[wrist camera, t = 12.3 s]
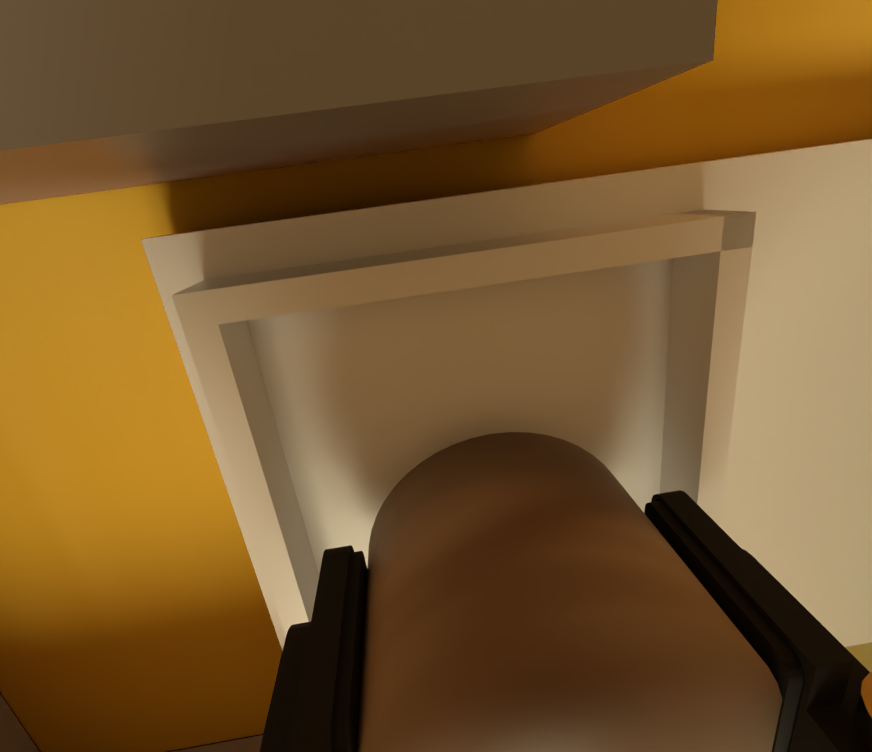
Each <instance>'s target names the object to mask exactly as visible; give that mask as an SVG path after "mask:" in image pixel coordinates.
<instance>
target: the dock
mask: <svg viewBox="0 0 872 752" xmlns="http://www.w3.org/2000/svg"><path fill="white" fill-rule="evenodd" d="M716 12H717V0H0V204H7V203H15V202H22V201H30V200H37V199H45V198H53V197H60V196H68V195H75V194H83V193H90V192H98V191H105V190H113V189H121V188H128V187H136V186H143V185H151V184H158V183H166V182H174V181H181V180H189V179H196V178H204V177H211V176H219V175H227V174H234V173H242V172H249V171H257V170H264V169H272V168H279V167H287V166H295V165H302V164H310V163H317V162H325V161H332V160H340V159H348V158H355V157H363V156H370V155H378V154H385V153H393V152H401V151H408V150H416V149H423V148H431V147H438V146H446V145H454V144H461V143H469V142H476V141H484V140H491V139H499V138H506V137H514V136H522V135H529V134H535V133H537V132H539V131H542V130H544V129H547V128H549V127H552V126H554V125H556V124H559V123H561V122H564V121H566V120H569V119H571V118H573V117H576V116H578V115H581V114H583V113H586V112H588V111H590V110H593V109H595V108H598V107H600V106H603V105H605V104H607V103H610V102H612V101H615V100H617V99H620V98H622V97H624V96H627V95H629V94H632V93H634V92H637V91H639V90H641V89H644V88H646V87H649V86H651V85H654V84H656V83H658V82H661V81H663V80H666V79H668V78H670V77H673V76H675V75H678V74H680V73H683V72H685V71H687V70H690V69H692V68H695V67H697V66H700V65H702V64H704V63H707V62H709V61H712V60H713V52H714V39H715V26H716ZM262 738H263V735H260V736H254V737H249V738H243V739H238V740H232V741H227V742H222V743H216V744H211V745H205V746H200V747H194V748H189V749H184V750H178V751H173V752H260V747H261V743H262ZM0 752H39V750H38V749H37V747H36V746H35V745H34V743H33V742H32V740H31V739H30V737H29V736H28V734H27V733H26V731H25V730H24V728H23V727H22V725H21V724H20V723H19V721H18V720H17V718H16V717H15V715H14V714H13V712H12V711H11V709H10V708H9V706H8V705H7V704H6V702H5V701H4V699H3V698H2V696H1V695H0Z"/></svg>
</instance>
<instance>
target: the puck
mask: <svg viewBox="0 0 872 752" xmlns="http://www.w3.org/2000/svg"><path fill="white" fill-rule="evenodd" d="M781 704H782V696H781V693H780V690H779V686H778V683H777V682H776V680H775V678H774V676H773V674H772V673H771V671H770V669H769V667H768V666H767V665H766V664H765V662H764V661H763V660H762V659H761V657H760V656H759V655H758V654H757V652H756V651H755V650H754V649H753V647H752V646H751V645H750V644H749V643H748V641H747V640H746V639H745V638H744V636H743V635H742V634H741V633H740V631H739V630H738V629H737V628H736V626H735V625H734V624H733V623H732V621H731V620H730V619H729V618H728V616H727V615H726V614H725V613H724V612H723V610H722V609H721V608H720V607H719V605H718V604H717V603H716V602H715V600H714V599H713V598H712V597H711V595H710V594H709V593H708V592H707V590H706V589H705V588H704V587H703V585H702V584H701V583H700V582H699V581H698V579H697V578H696V577H695V576H694V574H693V573H692V572H691V571H690V569H689V568H688V567H687V566H686V564H685V563H684V562H683V561H682V559H681V558H680V557H679V556H678V554H677V553H676V552H675V551H674V550H673V548H672V547H671V546H670V545H669V543H668V542H667V541H666V540H665V538H664V537H663V536H662V535H661V533H660V532H659V531H658V530H657V528H656V527H655V526H654V525H653V523H652V522H651V521H650V520H649V518H648V517H647V516H646V515H645V514H644V512H643V511H642V510H641V509H640V507H639V506H638V505H637V504H636V502H635V501H634V500H633V499H632V497H631V496H630V495H629V494H628V492H627V491H626V490H625V489H624V487H623V486H622V485H621V484H620V483H619V481H618V480H617V479H616V478H615V476H614V475H613V474H612V473H611V472H610V471H609V469H608V468H607V467H606V466H605V465H604V464H603V463H602V462H601V461H600V460H598V459H597V458H596V457H595V456H594V455H592V454H591V453H589V452H587V451H586V450H584V449H583V448H581V447H579V446H577V445H575V444H572V443H570V442H568V441H565V440H563V439H559V438H556V437H552V436H549V435H544V434H537V433H530V432H504V433H494V434H488V435H483V436H479V437H474V438H470V439H468V440H465V441H462V442H459V443H456V444H453V445H451V446H449V447H447V448H445V449H443V450H441V451H439V452H436V453H435V454H433V455H432V456H430V457H429V458H427V459H425V460H424V461H422V462H421V463H419V464H418V465H417V466H416V467H415V468H413V469H412V470H411V471H410V472H408V473H407V474H406V475H405V476H404V477H403V478H402V479H401V480H400V481H399V482H398V484H397V485H396V486H395V487H394V488H393V489H392V491H391V492H390V493H389V495H388V496H387V498H386V499H385V500H384V502H383V504H382V506H381V508H380V510H379V512H378V514H377V516H376V518H375V521H374V524H373V527H372V530H371V535H370V541H369V550H368V567H367V588H366V606H365V624H364V642H363V660H362V678H361V696H360V714H359V732H358V750H357V752H772V747H773V743H774V738H775V733H776V728H777V723H778V718H779V713H780V709H781Z"/></svg>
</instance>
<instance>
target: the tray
mask: <svg viewBox="0 0 872 752" xmlns="http://www.w3.org/2000/svg"><path fill="white" fill-rule="evenodd" d="M141 241H142V244H143V247H144V250H145V253H146V256H147V259H148V261H149V264H150V267H151V270H152V273H153V276H154V279H155V282H156V285H157V288H158V291H159V293H160V296H161V299H162V302H163V305H164V308H165V311H166V314H167V317H168V320H169V323H170V325H171V328H172V331H173V334H174V337H175V340H176V343H177V346H178V349H179V352H180V355H181V357H182V360H183V363H184V366H185V369H186V372H187V375H188V378H189V381H190V384H191V387H192V389H193V392H194V395H195V398H196V401H197V404H198V407H199V410H200V413H201V416H202V419H203V421H204V424H205V427H206V430H207V433H208V436H209V439H210V442H211V445H212V448H213V451H214V453H215V456H216V459H217V462H218V465H219V468H220V471H221V474H222V477H223V480H224V483H225V485H226V488H227V491H228V494H229V497H230V500H231V503H232V506H233V509H234V512H235V515H236V517H237V520H238V523H239V526H240V529H241V532H242V535H243V538H244V541H245V544H246V547H247V549H248V552H249V555H250V558H251V561H252V564H253V567H254V570H255V573H256V576H257V579H258V581H259V584H260V587H261V590H262V593H263V596H264V599H265V602H266V605H267V608H268V611H269V613H270V616H271V619H272V622H273V625H274V628H275V631H276V634H277V637H278V640H279V643H280V645H281V648H282V651H283V647H284V643H285V639H286V635H287V632H288V629H289V628H290V626H291V625H294V624H299V623H305V622H311V619H312V613H313V608H314V602H315V597H316V591H317V585H318V580H319V574H320V569H321V563H322V558H323V553H324V551H325V549H331V548H337V547H343V546H349V545H351V546H352V547H353V549H354V552H357V551H363V553H364V557H365V561H366V566H367V567H368V550H369V541H370V535H371V530H372V527H373V524H374V521H375V518H376V516H377V514H378V512H379V510H380V508H381V506H382V504H383V502H384V500H385V499H386V498H387V496H388V495H389V493H390V492H391V491H392V489H393V488H394V487H395V486H396V485H397V484H398V482H399V481H400V480H401V479H402V478H403V477H404V476H405V475H406V474H407V473H408V472H410V471H411V470H412V469H413V468H415V467H416V466H417V465H418V464H419V463H421V462H422V461H424V460H425V459H427V458H429V457H430V456H432V455H433V454H435V453H436V452H439V451H441V450H443V449H445V448H447V447H449V446H451V445H453V444H456V443H459V442H462V441H465V440H468V439H470V438H474V437H479V436H483V435H488V434H494V433H504V432H530V433H537V434H544V435H549V436H552V437H556V438H559V439H563V440H565V441H568V442H570V443H572V444H575V445H577V446H579V447H581V448H583V449H584V450H586V451H587V452H589V453H591V454H592V455H594V456H595V457H596V458H597V459H598V460H600V461H601V462H602V463H603V464H604V465H605V466H606V467H607V468H608V469H609V471H610V472H611V473H612V474H613V475H614V476H615V478H616V479H617V480H618V481H619V483H620V484H621V485H622V486H623V487H624V489H625V490H626V491H627V492H628V494H629V495H630V496H631V497H632V499H633V500H634V501H635V502H636V504H637V505H638V506H639V507H640V509H641V510H642V511H643V512H645V505H646V503H649V502H651V500H652V497H653V495H655V494H660V493H666V492H672V491H678V490H681V491H684V492H685V493H686V494H688V495H689V496H690V497H691V498H692V499H693V500H694V501H695V502H696V503H697V504H698V505H699V506H700V507H701V508H702V509H703V510H704V511H705V512H706V513H707V514H708V515H709V516H710V517H711V518H712V519H713V520H714V521H715V522H716V523H717V524H718V525H719V526H720V527H721V528H722V529H723V530H724V531H725V533H726V534H727V535H728V536H729V537H730V538H731V539H732V540H733V541H734V542H735V543H736V544H737V545H738V546H739V547H740V548H741V549H744V550H746V551H747V552H748V553H750V554H751V555H752V556H753V557H754V558H755V559H756V560H757V561H758V562H759V563H760V564H761V565H762V566H763V567H764V568H765V569H766V570H767V571H768V572H769V573H770V574H771V575H772V576H773V577H774V578H775V579H776V580H778V581H779V582H780V583H781V584H782V585H783V586H784V587H785V588H786V589H787V590H788V591H789V592H790V593H791V594H792V595H793V596H794V597H795V598H796V599H797V600H798V601H799V602H800V603H801V604H802V605H803V606H804V607H805V608H806V609H807V610H808V611H809V612H810V613H811V614H812V615H813V616H814V617H815V618H816V619H817V620H818V621H819V622H820V623H821V624H822V625H823V626H824V627H825V628H826V629H827V630H828V631H829V632H830V633H831V634H832V635H833V636H834V637H835V638H836V639H837V640H838V641H839V642H840V643H841V644H842V645H843V646H844V647H845V648H846V649H847V650H848V651H849V652H850V653H851V654H852V655H853V656H854V657H855V658H856V659H857V660H858V661H859V662H860V663H861V664H862V665H863V666H864V667H865V668H866V669H867V670H868V671H869V672H870V673H871V672H872V138H870V139H863V140H855V141H848V142H841V143H834V144H826V145H819V146H812V147H804V148H797V149H790V150H782V151H775V152H768V153H761V154H753V155H746V156H739V157H731V158H724V159H717V160H709V161H702V162H695V163H687V164H680V165H673V166H666V167H658V168H651V169H644V170H636V171H629V172H622V173H614V174H607V175H600V176H593V177H585V178H578V179H571V180H563V181H556V182H549V183H541V184H534V185H527V186H520V187H512V188H505V189H498V190H490V191H483V192H476V193H468V194H461V195H454V196H447V197H439V198H432V199H425V200H417V201H410V202H403V203H395V204H388V205H381V206H374V207H366V208H359V209H352V210H344V211H337V212H330V213H322V214H315V215H308V216H301V217H293V218H286V219H279V220H271V221H264V222H257V223H249V224H242V225H235V226H228V227H220V228H213V229H206V230H198V231H191V232H184V233H176V234H169V235H162V236H157V237H151V238H146V239H141Z"/></svg>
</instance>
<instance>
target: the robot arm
mask: <svg viewBox="0 0 872 752" xmlns="http://www.w3.org/2000/svg"><path fill="white" fill-rule="evenodd" d="M644 514H645V515H646V516H647V517H648V518H649V520H650V521H651V522H652V523H653V525H654V526H655V527H656V528H657V530H658V531H659V532H660V533H661V535H662V536H663V537H664V538H665V540H666V541H667V542H668V543H669V545H670V546H671V547H672V548H673V550H674V551H675V552H676V553H677V554H678V556H679V557H680V558H681V559H682V561H683V562H684V563H685V564H686V566H687V567H688V568H689V569H690V571H691V572H692V573H693V574H694V576H695V577H696V578H697V579H698V581H699V582H700V583H701V584H702V585H703V587H704V588H705V589H706V590H707V592H708V593H709V594H710V595H711V597H712V598H713V599H714V600H715V602H716V603H717V604H718V605H719V607H720V608H721V609H722V610H723V612H724V613H725V614H726V615H727V616H728V618H729V619H730V620H731V621H732V623H733V624H734V625H735V626H736V628H737V629H738V630H739V631H740V633H741V634H742V635H743V636H744V638H745V639H746V640H747V641H748V643H749V644H750V645H751V646H752V647H753V649H754V650H755V651H756V652H757V654H758V655H759V656H760V657H761V659H762V660H763V661H764V662H765V664H766V665H767V666H768V667H769V669H770V671H771V673H772V674H773V676H774V678H775V680H776V682H777V683H778V686H779V690H780V693H781V696H782V704H781V709H780V713H779V718H778V723H777V728H776V733H775V738H774V743H773V747H772V752H872V672H871V673H870V672H869V671H868V670H867V669H866V668H865V667H864V666H863V665H862V664H861V663H860V662H859V661H858V660H857V659H856V658H855V657H854V656H853V655H852V654H851V653H850V652H849V651H848V650H847V649H846V648H845V647H844V646H843V645H842V644H841V643H840V642H839V641H838V640H837V639H836V638H835V637H834V636H833V635H832V634H831V633H830V632H829V631H828V630H827V629H826V628H825V627H824V626H823V625H822V624H821V623H820V622H819V621H818V620H817V619H816V618H815V617H814V616H813V615H812V614H811V613H810V612H809V611H808V610H807V609H806V608H805V607H804V606H803V605H802V604H801V603H800V602H799V601H798V600H797V599H796V598H795V597H794V596H793V595H792V594H791V593H790V592H789V591H788V590H787V589H786V588H785V587H784V586H783V585H782V584H781V583H780V582H779V581H778V580H776V579H775V578H774V577H773V576H772V575H771V574H770V573H769V572H768V571H767V570H766V569H765V568H764V567H763V566H762V565H761V564H760V563H759V562H758V561H757V560H756V559H755V558H754V557H753V556H752V555H751V554H750V553H748V552H747V551H746V550H744V549H741V548H740V547H739V546H738V545H737V544H736V543H735V542H734V541H733V540H732V539H731V538H730V537H729V536H728V535H727V534H726V533H725V531H724V530H723V529H722V528H721V527H720V526H719V525H718V524H717V523H716V522H715V521H714V520H713V519H712V518H711V517H710V516H709V515H708V514H707V513H706V512H705V511H704V510H703V509H702V508H701V507H700V506H699V505H698V504H697V503H696V502H695V501H694V500H693V499H692V498H691V497H690V496H689V495H688V494H686V493H685V492H684V491H681V490H678V491H672V492H666V493H660V494H655V495H653V497H652V500H651V502H649V503H646V505H645V512H644ZM366 588H367V566H366V561H365V557H364V553H363V551H357V552H354V549H353V547H352V546H351V545H349V546H343V547H337V548H331V549H325V551H324V553H323V558H322V563H321V569H320V574H319V580H318V585H317V591H316V597H315V602H314V608H313V613H312V619H311V622H305V623H299V624H294V625H291V626H290V628H289V629H288V632H287V635H286V639H285V643H284V647H283V652H282V656H281V660H280V665H279V669H278V673H277V678H276V682H275V686H274V691H273V695H272V699H271V704H270V708H269V712H268V717H267V721H266V725H265V730H264V734H263V738H262V743H261V747H260V752H357V750H358V732H359V714H360V696H361V678H362V660H363V642H364V624H365V606H366Z"/></svg>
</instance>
